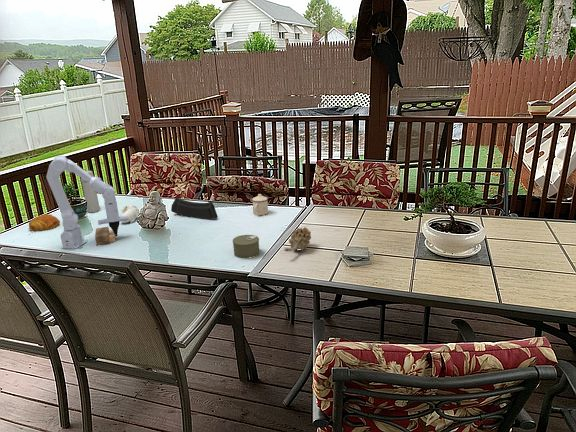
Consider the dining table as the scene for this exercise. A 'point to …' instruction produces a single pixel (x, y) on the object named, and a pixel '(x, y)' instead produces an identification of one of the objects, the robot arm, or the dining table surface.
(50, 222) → the croissant
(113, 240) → the peach rectangular prism
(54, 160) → the robot arm
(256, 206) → the teacup with lid
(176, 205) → the magazine
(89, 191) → the water bottle
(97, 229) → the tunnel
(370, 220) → the dining table surface
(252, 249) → the can
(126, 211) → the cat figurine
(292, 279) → the dining table surface
